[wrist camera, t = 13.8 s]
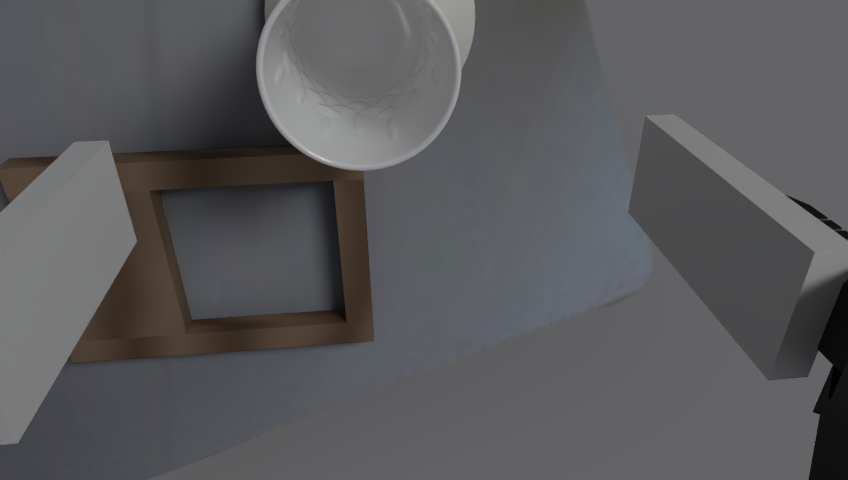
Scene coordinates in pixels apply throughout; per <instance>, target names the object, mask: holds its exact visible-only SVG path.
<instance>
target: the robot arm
mask: <svg viewBox="0 0 848 480" xmlns="http://www.w3.org/2000/svg"><path fill="white" fill-rule="evenodd" d="M628 212H629V214H630V215H631V216H632V217H633V218H634V220H635V221H636V222H637V223H638V224H639V226H640V227H641V228H642V229H643V230H644V232H645V233H646V234H647V235H648V236H649V238H650V239H651V240H652V241H653V242H654V244H655V245H656V246H657V247H658V248H659V249H660V251H661V252H662V253H663V254H664V256H665V257H666V258H667V259H668V260H669V262H670V263H671V264H672V265H673V266H674V268H675V269H676V270H677V271H678V272H679V274H680V275H681V276H682V277H683V278H684V280H685V281H686V282H687V283H688V284H689V286H690V287H691V288H692V289H693V290H694V292H695V293H696V294H697V295H698V296H699V298H700V299H701V300H702V301H703V302H704V304H705V305H706V306H707V307H708V308H709V310H710V311H711V312H712V313H713V314H714V316H715V317H716V318H717V319H718V321H719V322H720V323H721V324H722V325H723V326H724V328H725V329H726V330H727V331H728V333H729V334H730V335H731V336H732V337H733V338H734V340H735V341H736V342H737V343H738V345H739V346H740V347H741V348H742V349H743V351H744V352H745V353H746V354H747V355H748V356H749V358H750V359H751V360H752V361H753V362H754V364H755V365H756V366H757V367H758V368H759V370H760V371H761V372H762V373H763V374H764V376H765V377H766V378H767V379H768V380H777V379H788V378H800V377H808V374H809V372H810V370H811V367H812V365H813V362H814V360H815V357H816V355H817V353H818V350H819V351H820V352H821V353H822V354H823V355H824V356H825V357H826V358H827V359H828V360H829V361H830V362H831V363H832V364H833V366H832V368H831V371H830V373H829V375H828V378H827V380H826V382H825V385H824V387H823V389H822V392H821V394H820V396H819V399H818V401H817V403H816V406H815V408H814V410H813V412H814V413H817V414H820V418H819V424H818V429H817V435H816V441H815V446H814V452H813V458H812V464H811V470H810V475H809V480H848V232H847V231H842V228H841V227H840V226H839V225H837V224H836V223H834V222H833V221H831V220H828V218H827V217H826V216H824V215H823V214H822V213H820V212H819V211H817V210H816V209H815V208H813V207H812V206H810V205H808V204H806V203H804V202H801V201H799V200H797V199H794V198H792V197H789V196H787V195H784V194H783V193H781V192H780V191H779V190H777V189H776V188H775V187H773V186H772V185H770V184H769V183H768V182H766V181H765V180H764V179H762V178H761V177H759V176H758V175H757V174H755V173H754V172H753V171H751V170H750V169H748V168H747V167H746V166H744V165H743V164H742V163H740V162H739V161H738V160H736V159H735V158H733V157H732V156H731V155H729V154H728V153H727V152H725V151H724V150H722V149H721V148H720V147H718V146H717V145H715V144H714V143H713V142H711V141H710V140H709V139H707V138H706V137H705V136H703V135H702V134H701V133H699V132H698V131H696V130H695V129H694V128H692V127H691V126H689V125H688V124H687V123H685V122H684V121H683V120H681V119H680V118H678V117H677V116H676V115H655V116H645V122H644V127H643V133H642V138H641V144H640V150H639V155H638V161H637V167H636V172H635V179H634V183H633V189H632V195H631V200H630V206H629V211H628ZM136 242H137V239H136V236H135V232H134V229H133V225H132V222H131V218H130V215H129V211H128V208H127V204H126V201H125V197H124V194H123V190H122V187H121V183H120V180H119V176H118V173H117V169H116V166H115V163H114V159H113V156H112V152H111V149H110V145H109V142H108V141H86V142H74V143H73V144H72V145H71V146H70V147H69V148H68V149H67V150H65V151H64V152H63V153H62V154H61V155H60V156H59V157H58V158H57V159H56V160H55V161H54V162H53V163H52V164H51V165H50V166H49V167H48V168H47V169H46V170H44V171H43V172H42V173H41V174H40V175H39V176H38V177H37V178H36V179H35V180H34V181H33V182H32V183H31V184H30V185H29V186H28V187H27V188H26V189H25V190H23V191H22V192H21V193H20V194H19V195H18V196H17V197H16V198H15V199H14V200H13V201H12V202H11V203H10V204H9V205H8V206H7V207H6V208H5V209H4V210H2V211H1V212H0V445H3V444H15V443H18V442H19V441H20V439H21V437H22V436H23V434H24V432H25V430H26V429H27V427H28V425H29V424H30V422H31V420H32V419H33V417H34V415H35V413H36V412H37V410H38V408H39V407H40V405H41V403H42V402H43V400H44V398H45V397H46V395H47V393H48V391H49V390H50V388H51V386H52V385H53V383H54V381H55V380H56V378H57V376H58V374H59V373H60V371H61V369H62V368H63V366H64V364H65V363H66V361H67V359H68V357H69V356H70V354H71V352H72V351H73V349H74V347H75V346H76V344H77V342H78V341H79V339H80V337H81V335H82V334H83V332H84V330H85V329H86V327H87V325H88V324H89V322H90V320H91V318H92V317H93V315H94V313H95V312H96V310H97V308H98V307H99V305H100V303H101V302H102V300H103V298H104V296H105V295H106V293H107V291H108V290H109V288H110V286H111V285H112V283H113V281H114V279H115V278H116V276H117V274H118V273H119V271H120V269H121V268H122V266H123V264H124V262H125V261H126V259H127V257H128V256H129V254H130V252H131V251H132V249H133V247H134V246H135V244H136Z"/></svg>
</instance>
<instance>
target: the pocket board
mask: <svg viewBox="0 0 848 480" xmlns="http://www.w3.org/2000/svg"><path fill="white" fill-rule="evenodd" d="M112 156H113V159H114V163H115V166H116V169H117V173H118V176H119V180H120V183H121V187H122V190H123V194H124V197H125V201H126V204H127V208H128V211H129V215H130V218H131V222H132V225H133V229H134V232H135V236H136V239H137V242H136V244H135V246H134V247H133V249H132V251H131V252H130V254H129V256H128V257H127V259H126V261H125V262H124V264H123V266H122V268H121V269H120V271H119V273H118V274H117V276H116V278H115V279H114V281H113V283H112V285H111V286H110V288H109V290H108V291H107V293H106V295H105V296H104V298H103V300H102V302H101V303H100V305H99V307H98V308H97V310H96V312H95V313H94V315H93V317H92V318H91V320H90V322H89V324H88V325H87V327H86V329H85V330H84V332H83V334H82V335H81V337H80V339H79V341H78V342H77V344H76V346H75V347H74V349H73V351H72V352H71V354H70V358H71V361H72V363H82V362H96V361H109V360H123V359H137V358H150V357H164V356H178V355H191V354H205V353H219V352H232V351H246V350H259V349H273V348H287V347H300V346H314V345H328V344H341V343H355V342H369V341H374V331H373V315H372V300H371V286H370V271H369V256H368V241H367V226H366V211H365V196H364V181H363V171H354V170H345V169H339V168H335V167H332V166H328V165H326V164H323V163H320V162H318V161H316V160H314V159H312V158H310V157H308V156H307V155H305V154H304V153H302V152H301V151H299V150H298V149H297V148H295V147H294V146H293V145H287V146H266V147H245V148H224V149H203V150H181V151H160V152H139V153H118V154H112ZM58 157H59V156H55V157H33V158H12V159H8V160H7V161H5V162H4V163H3V164H2V165H1V166H0V181H1V184H2V186H3V189H4V191H5V194H6V196H7V199H8V201H9V204H10V203H11V202H12V201H13V200H14V199H15V198H16V197H17V196H18V195H19V194H20V193H21V192H22V191H23V190H25V189H26V188H27V187H28V186H29V185H30V184H31V183H32V182H33V181H34V180H35V179H36V178H37V177H38V176H39V175H40V174H41V173H42V172H43V171H44V170H46V169H47V168H48V167H49V166H50V165H51V164H52V163H53V162H54V161H55V160H56V159H57V158H58ZM321 181H333V184H334V195H335V206H336V216H337V227H338V237H339V248H340V259H341V269H342V280H343V290H344V301H345V310H331V311H317V312H302V313H288V314H273V315H259V316H244V317H230V318H215V319H201V320H192V319H191V315H190V311H189V307H188V303H187V299H186V295H185V291H184V288H183V284H182V280H181V276H180V272H179V268H178V264H177V260H176V256H175V252H174V248H173V244H172V240H171V236H170V232H169V229H168V225H167V221H166V217H165V213H164V209H163V205H162V201H161V197H160V193H159V190H168V189H187V188H206V187H225V186H245V185H264V184H283V183H302V182H321Z"/></svg>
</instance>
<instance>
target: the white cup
mask: <svg viewBox="0 0 848 480" xmlns="http://www.w3.org/2000/svg"><path fill="white" fill-rule="evenodd" d="M256 77H257V84H258V89H259V93H260V96H261V100H262V102H263V105H264V107H265V109H266V112H267V114H268V115H269V117H270V119H271V121H272V122H273V124H274V125H275V127H276V128H277V129H278V131H279V132H280V133H281V134H282V135H283V136H284V138H285V139H286V140H287V141H288V142H289V143H291V144H292V145H293V146H294V147H295V148H297V149H298V150H299V151H301V152H302V153H304V154H305V155H307V156H308V157H310V158H312V159H314V160H316V161H318V162H320V163H323V164H326V165H328V166H332V167H335V168H339V169H345V170H354V171H369V170H377V169H382V168H387V167H390V166H393V165H396V164H399V163H401V162H403V161H406V160H408V159H409V158H411V157H413V156H415V155H416V154H418V153H419V152H421V151H422V150H423V149H424V148H426V147H427V146H428V145H429V144H430V143H431V142H432V141H433V140H434V139H435V138H436V137H437V136H438V135H439V133H440V132H441V131H442V129H443V128H444V126H445V125H446V123H447V122H448V120H449V118H450V116H451V114H452V112H453V110H454V107H455V104H456V101H457V98H458V94H459V89H460V83H461V60H460V53H459V48H458V44H457V41H456V38H455V35H454V32H453V30H452V28H451V26H450V24H449V22H448V20H447V18H446V17H445V15H444V13H443V12H442V11H441V9H440V8H439V7H438V5H437V4H436V3H435V2H434V1H433V0H280V1H279V3H278V4H277V5H276V6H275V8H274V9H273V11H272V12H271V14H270V15H269V17H268V19H267V21H266V23H265V25H264V27H263V30H262V33H261V36H260V39H259V43H258V48H257V55H256Z"/></svg>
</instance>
